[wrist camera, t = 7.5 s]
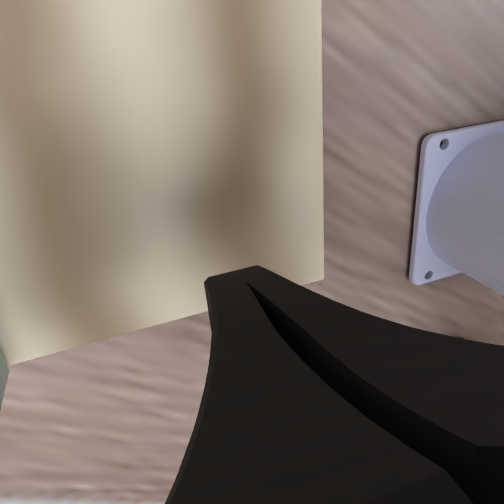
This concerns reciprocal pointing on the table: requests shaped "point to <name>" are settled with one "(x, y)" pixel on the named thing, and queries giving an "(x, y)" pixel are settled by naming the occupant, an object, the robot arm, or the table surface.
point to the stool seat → (152, 160)
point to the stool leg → (3, 377)
